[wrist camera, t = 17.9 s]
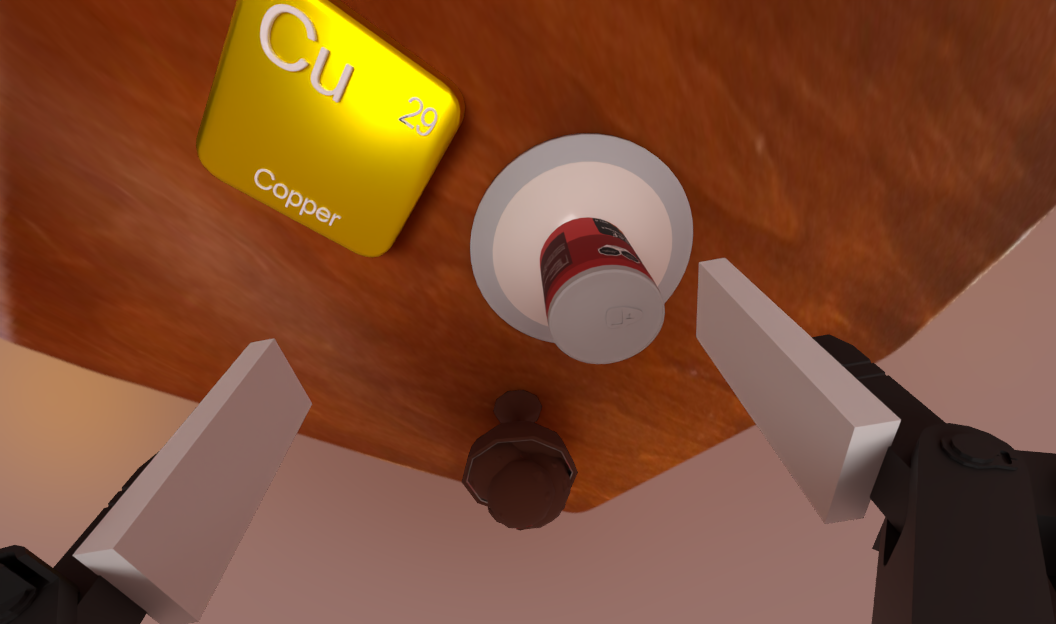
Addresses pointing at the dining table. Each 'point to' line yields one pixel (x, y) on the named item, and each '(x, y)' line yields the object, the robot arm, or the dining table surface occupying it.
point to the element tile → (326, 120)
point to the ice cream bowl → (520, 466)
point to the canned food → (598, 293)
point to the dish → (570, 193)
